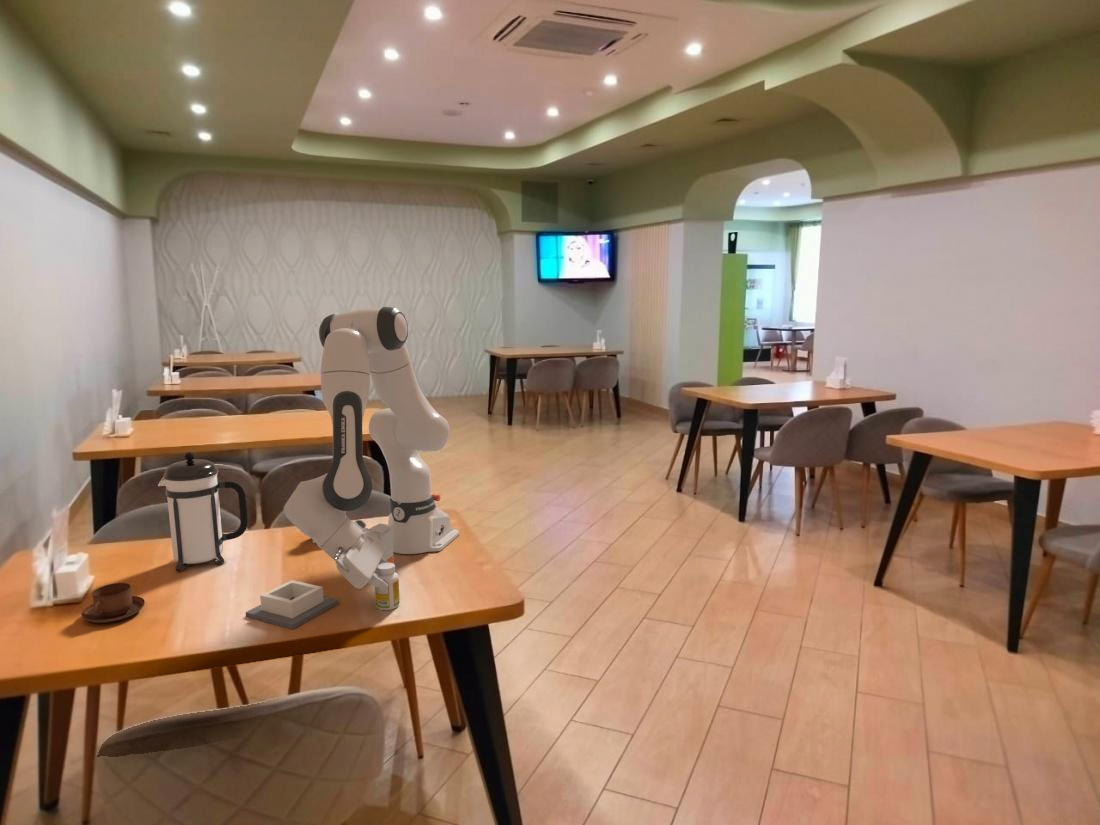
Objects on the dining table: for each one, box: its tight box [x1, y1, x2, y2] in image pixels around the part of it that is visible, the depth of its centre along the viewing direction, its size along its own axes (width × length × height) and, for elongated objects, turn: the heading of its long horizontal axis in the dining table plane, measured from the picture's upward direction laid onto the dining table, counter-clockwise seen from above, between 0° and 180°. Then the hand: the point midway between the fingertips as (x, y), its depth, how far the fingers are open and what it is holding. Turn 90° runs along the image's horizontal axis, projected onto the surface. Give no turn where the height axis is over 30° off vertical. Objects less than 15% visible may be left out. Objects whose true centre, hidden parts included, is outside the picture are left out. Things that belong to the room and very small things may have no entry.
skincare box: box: [369, 523, 395, 574], centre depth 181 cm, size 6×4×12 cm
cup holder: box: [245, 579, 339, 630], centre depth 161 cm, size 14×14×4 cm
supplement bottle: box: [374, 563, 401, 611], centre depth 162 cm, size 5×5×10 cm
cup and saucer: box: [81, 582, 146, 624], centre depth 158 cm, size 12×12×6 cm
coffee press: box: [157, 451, 248, 573], centre depth 188 cm, size 17×16×30 cm
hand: (389, 581), depth 162 cm, fingers open, 6 cm apart
